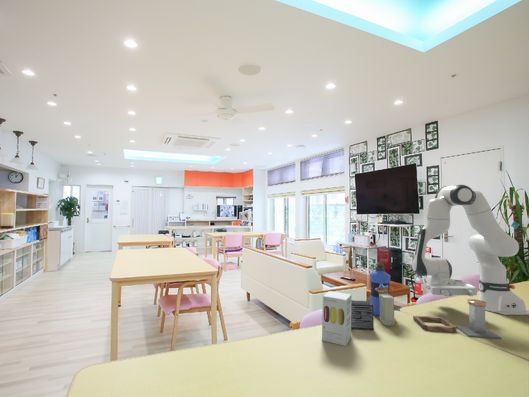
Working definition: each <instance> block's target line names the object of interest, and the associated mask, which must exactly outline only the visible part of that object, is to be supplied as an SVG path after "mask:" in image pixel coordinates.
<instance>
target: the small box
mask: <svg viewBox="0 0 529 397" xmlns="http://www.w3.org/2000/svg"><path fill="white" fill-rule="evenodd" d="M374 317H375V316H374V315H373V304H372V303H371V302H370V300H352V299H351V330H363V331H366V330H367V331H374V330H375V326H374V323H375V322H374V321H375V319H374Z"/></svg>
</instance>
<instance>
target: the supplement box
mask: <svg viewBox="0 0 529 397" xmlns="http://www.w3.org/2000/svg"><path fill="white" fill-rule="evenodd" d="M351 300H352V294H350V293H344V292H337V291H332V290H329V291H327V292H326V293H325V294H324V295H323V296H322V314H321V315H322V316H321V317H322V318H321V320H322V321H321V322H322V323H321V341H323V342H327V343H332V344H337V345H341V346H345V347H346V346H347V345H348V343H349V341H350V339H351V338H352V329H351Z"/></svg>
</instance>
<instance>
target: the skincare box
mask: <svg viewBox="0 0 529 397" xmlns="http://www.w3.org/2000/svg"><path fill="white" fill-rule="evenodd" d="M379 299H380V317H379V321H380V322H381V323H382V324H383V325H384V326H395V298H394V297H393V296H392V295H391V294H390V293H389V294H379Z"/></svg>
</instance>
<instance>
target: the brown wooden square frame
mask: <svg viewBox="0 0 529 397" xmlns="http://www.w3.org/2000/svg"><path fill="white" fill-rule="evenodd" d="M412 319H413V321H414V322H415V323H416V324H417V325H418V326H419V327H420V328H421V329H422V330H424V331H425V330H426V331H428V332H429V331H430V332H442V333H443V332H444V333H445V332H446V333H454V332H455V333H456V332H457V328H456V325H454V324H452V323H451V322H449V321H448V319H445V317H440V316H429V315H413V317H412ZM431 321H435V322H434V323H441V322H442V323H443V324H442V323H441V324H442V325H435V324H427V323H425V322H431Z"/></svg>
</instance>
